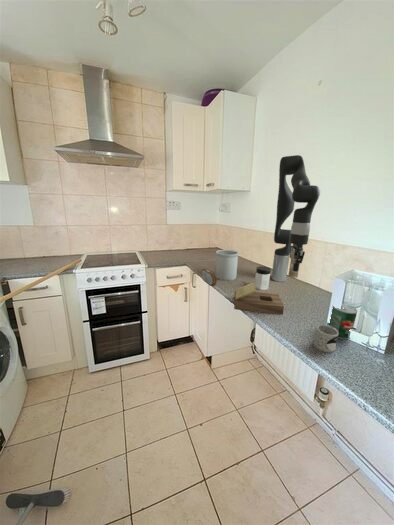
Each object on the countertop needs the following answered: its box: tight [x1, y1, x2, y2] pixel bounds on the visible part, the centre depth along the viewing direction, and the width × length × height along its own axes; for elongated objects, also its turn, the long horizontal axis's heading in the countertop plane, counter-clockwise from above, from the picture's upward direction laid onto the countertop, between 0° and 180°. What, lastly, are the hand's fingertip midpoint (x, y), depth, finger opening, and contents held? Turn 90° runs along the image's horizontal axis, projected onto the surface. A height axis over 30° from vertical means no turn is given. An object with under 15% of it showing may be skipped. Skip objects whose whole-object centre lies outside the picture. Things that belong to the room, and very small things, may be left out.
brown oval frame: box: [201, 268, 218, 287], centre depth 133 cm, size 15×3×8 cm, turn 26°
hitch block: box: [233, 289, 285, 315], centre depth 107 cm, size 14×22×4 cm, turn 80°
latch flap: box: [235, 281, 257, 300], centre depth 106 cm, size 11×10×1 cm
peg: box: [287, 251, 301, 279], centre depth 100 cm, size 4×4×12 cm
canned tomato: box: [328, 305, 358, 340], centre depth 84 cm, size 8×8×11 cm
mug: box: [313, 324, 339, 354], centre depth 77 cm, size 10×7×7 cm, turn 124°
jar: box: [254, 265, 272, 291], centre depth 129 cm, size 9×8×12 cm
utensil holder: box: [215, 249, 240, 282], centre depth 144 cm, size 15×15×18 cm
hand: (293, 269), depth 101 cm, fingers closed on peg, 4 cm apart
